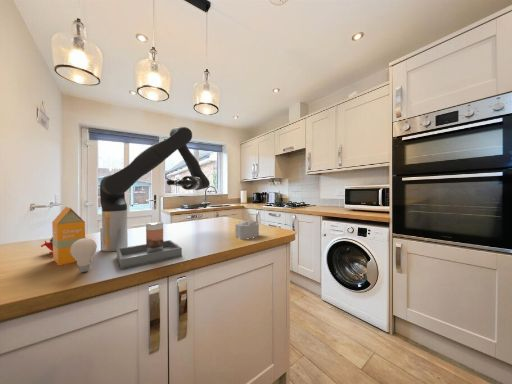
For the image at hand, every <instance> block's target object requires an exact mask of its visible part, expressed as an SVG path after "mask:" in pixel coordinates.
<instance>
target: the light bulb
mask: <svg viewBox="0 0 512 384" xmlns="http://www.w3.org/2000/svg"><path fill="white" fill-rule="evenodd" d="M97 248H98V247H97V242H96V240H94V239H92V238H87V237H85V238H83V239H79V240H77V241H76V242H74V243H73V244H72V246H71V249H70V253H71V255H72V256H73V257H74V259H75V260H76V261H77V262H76V265H77V266H78V272H80V273H86V272H88V271H89V270H90V269H91V267H90V264H91V263H92V259H93V256H94V255H95V253H96V251H97Z"/></svg>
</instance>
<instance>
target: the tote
mask: <svg viewBox="0 0 512 384" xmlns="http://www.w3.org/2000/svg"><path fill="white" fill-rule="evenodd" d="M182 249H183V248H182V247H181V246H180V245H178V244H177V243H175V242H174V241H173V240H171V239H170V240H169V239H168V240H163V251H159V252H153V253H148V254H147V247H146V243H145V244H144V243H143V244H138V245H137V244H136V245H132V246H128V247H125V248H119V249H117V251H116V259H117V262H118V264H119V267H120V270H121V271H122V270H126V269H127V270H128V269H130V268H131V269H132V268H135V267H140V266H144V265H145V266H146V265H148V264H154V263H158V262H163V261H168V260H172V259H177V258H180V257H183V256H182V253H183V251H182Z"/></svg>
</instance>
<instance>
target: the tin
mask: <svg viewBox="0 0 512 384" xmlns="http://www.w3.org/2000/svg"><path fill="white" fill-rule="evenodd" d="M145 224H146V225H145V227H146V228H145V232H146V233H145V234H146V235H145V244H146V247H147V254H148V253H153V252H159V251H163V241H164V222H162V221H161V222H160V221H158V222H157V221H156V222H155V221H153V222H149V223H145Z"/></svg>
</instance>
